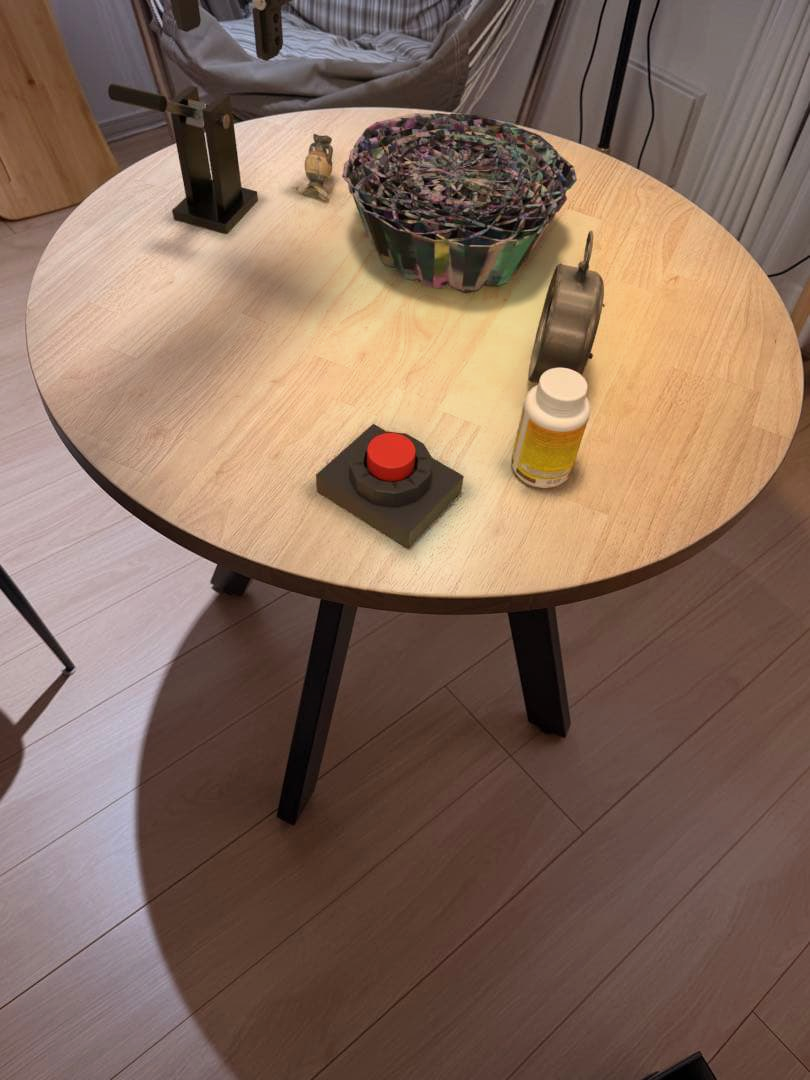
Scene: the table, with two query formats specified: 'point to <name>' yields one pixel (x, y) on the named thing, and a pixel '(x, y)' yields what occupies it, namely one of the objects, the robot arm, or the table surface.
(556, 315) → the alarm clock
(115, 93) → the lever
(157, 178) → the table surface
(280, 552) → the table surface
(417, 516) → the control block
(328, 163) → the vase
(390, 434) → the button
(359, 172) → the decorative bowl
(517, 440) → the supplement bottle
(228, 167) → the bracket
